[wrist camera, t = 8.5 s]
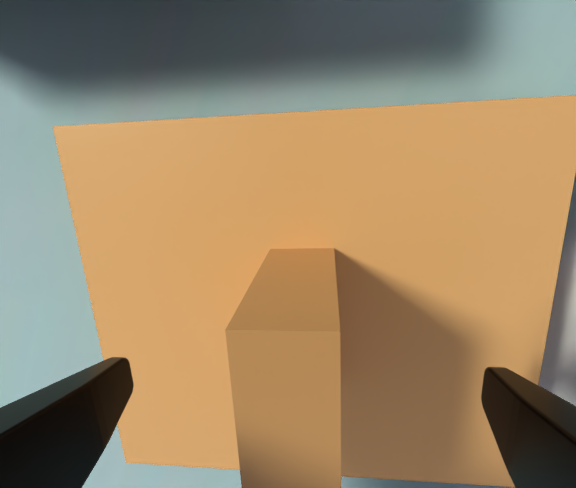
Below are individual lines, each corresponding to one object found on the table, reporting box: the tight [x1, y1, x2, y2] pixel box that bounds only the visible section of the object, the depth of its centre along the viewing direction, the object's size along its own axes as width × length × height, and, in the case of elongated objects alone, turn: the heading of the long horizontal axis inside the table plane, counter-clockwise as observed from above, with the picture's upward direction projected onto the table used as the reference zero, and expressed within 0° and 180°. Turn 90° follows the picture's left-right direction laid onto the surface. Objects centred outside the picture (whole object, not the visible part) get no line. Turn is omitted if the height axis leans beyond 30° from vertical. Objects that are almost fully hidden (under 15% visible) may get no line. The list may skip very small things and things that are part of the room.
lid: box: [53, 95, 576, 488], centre depth 10 cm, size 15×13×7 cm
